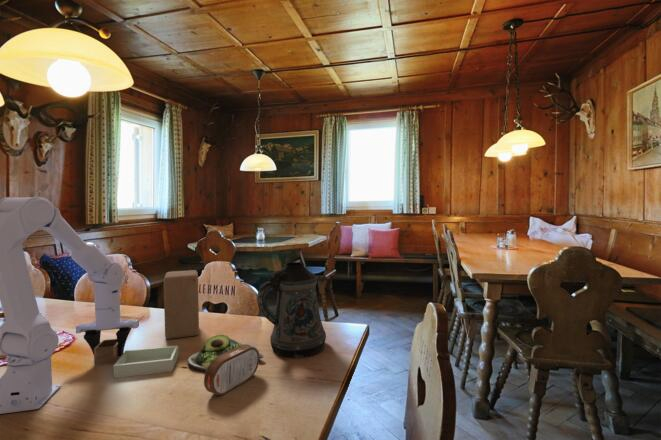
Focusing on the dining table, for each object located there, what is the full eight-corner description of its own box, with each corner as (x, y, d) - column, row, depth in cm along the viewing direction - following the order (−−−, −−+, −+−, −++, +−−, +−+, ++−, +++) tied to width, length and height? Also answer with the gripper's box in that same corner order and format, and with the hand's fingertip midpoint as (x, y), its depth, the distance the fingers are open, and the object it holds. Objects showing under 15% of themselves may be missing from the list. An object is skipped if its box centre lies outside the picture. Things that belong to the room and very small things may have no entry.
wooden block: (199, 336, 112) (197, 274, 111) (164, 340, 108) (163, 277, 107) (198, 326, 121) (197, 269, 120) (167, 330, 117) (165, 271, 116)
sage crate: (172, 371, 88) (172, 359, 88) (114, 377, 85) (113, 365, 85) (178, 355, 97) (178, 345, 97) (125, 361, 94) (125, 350, 93)
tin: (252, 371, 88) (251, 338, 88) (261, 374, 87) (261, 341, 86) (203, 399, 75) (202, 361, 75) (212, 403, 74) (212, 365, 73)
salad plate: (276, 351, 101) (276, 335, 101) (243, 380, 84) (242, 362, 84) (220, 343, 107) (220, 328, 107) (178, 369, 90) (177, 352, 90)
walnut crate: (115, 365, 92) (115, 346, 91) (94, 367, 90) (93, 348, 90) (123, 355, 97) (122, 338, 97) (103, 357, 96) (102, 339, 96)
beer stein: (336, 343, 105) (336, 262, 104) (296, 369, 89) (295, 272, 88) (294, 332, 114) (293, 257, 113) (250, 353, 98) (249, 266, 97)
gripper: (141, 300, 99) (142, 347, 100) (83, 304, 95) (85, 352, 96) (134, 307, 92) (135, 357, 93) (71, 312, 88) (73, 364, 89)
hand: (109, 356), depth 94 cm, fingers closed on walnut crate, 5 cm apart
